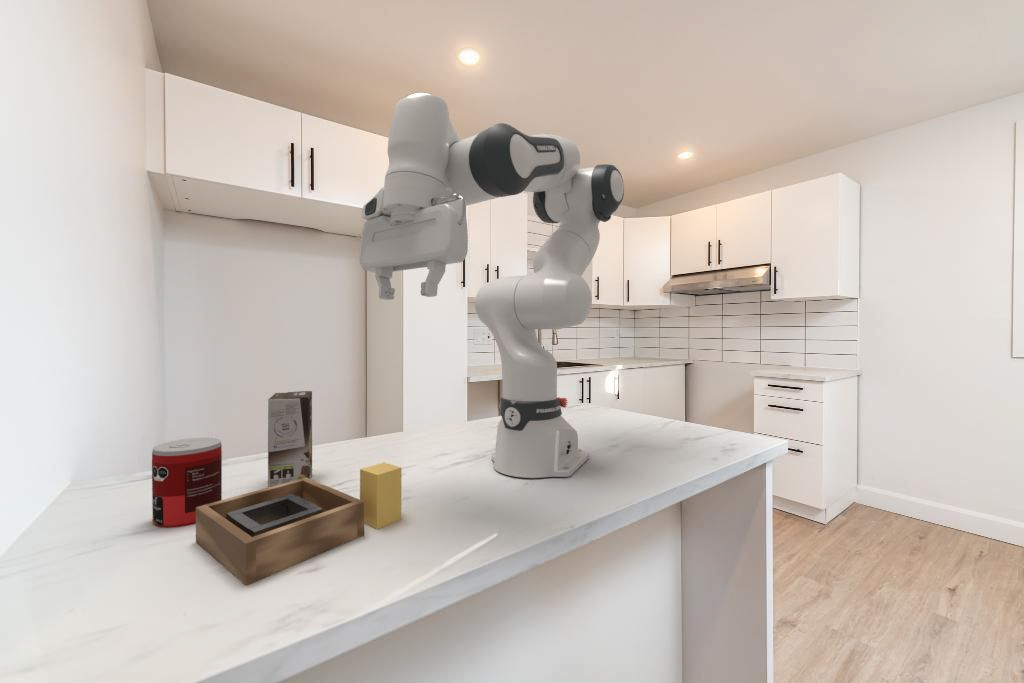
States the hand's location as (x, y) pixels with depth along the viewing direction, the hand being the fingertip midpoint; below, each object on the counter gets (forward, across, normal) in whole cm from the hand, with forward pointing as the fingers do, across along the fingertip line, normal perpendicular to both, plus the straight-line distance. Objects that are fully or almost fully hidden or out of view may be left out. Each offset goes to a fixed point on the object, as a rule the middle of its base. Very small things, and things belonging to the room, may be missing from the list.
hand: (406, 297), depth 61 cm
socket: (+33, +6, +12) cm, 36 cm away
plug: (+32, +1, 0) cm, 32 cm away
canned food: (+34, +24, +16) cm, 45 cm away
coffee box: (+33, +27, 0) cm, 43 cm away
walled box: (+34, +7, +11) cm, 36 cm away
